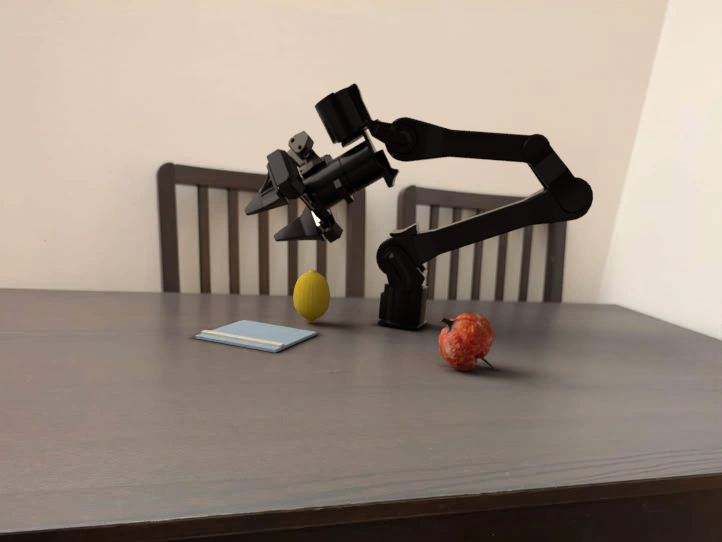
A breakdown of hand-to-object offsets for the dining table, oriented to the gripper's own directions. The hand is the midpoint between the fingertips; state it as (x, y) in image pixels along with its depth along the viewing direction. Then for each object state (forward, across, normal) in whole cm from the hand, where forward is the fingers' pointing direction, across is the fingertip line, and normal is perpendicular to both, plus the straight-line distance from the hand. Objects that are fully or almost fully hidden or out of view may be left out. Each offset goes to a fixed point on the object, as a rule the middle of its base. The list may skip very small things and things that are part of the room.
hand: (260, 226), depth 113 cm
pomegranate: (-21, +4, +37) cm, 43 cm away
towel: (+3, +8, +21) cm, 23 cm away
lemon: (-1, -4, +17) cm, 17 cm away
